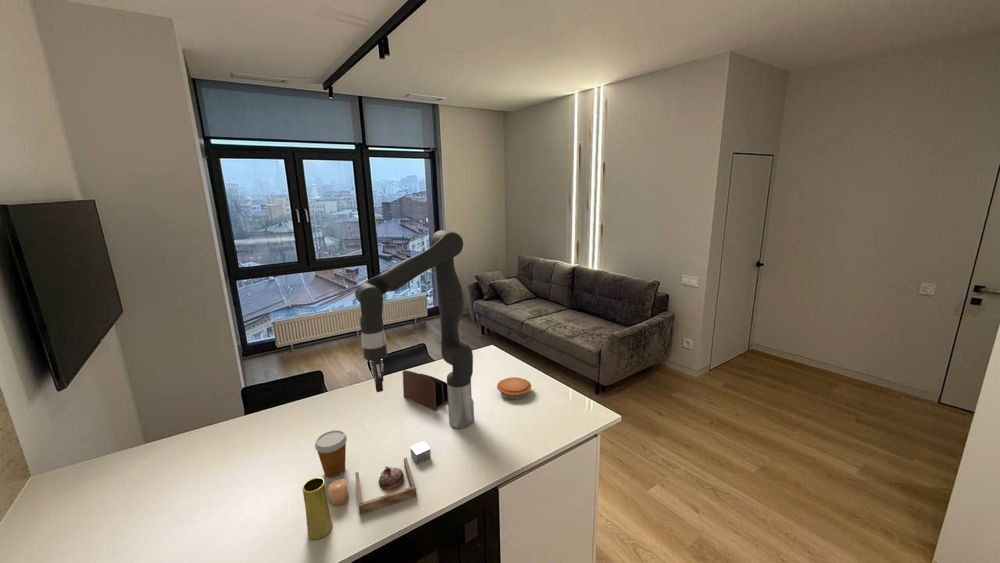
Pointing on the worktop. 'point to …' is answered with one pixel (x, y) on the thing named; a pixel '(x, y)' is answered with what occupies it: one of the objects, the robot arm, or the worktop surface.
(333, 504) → the peach rounded blob
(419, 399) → the letter holder
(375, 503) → the display bay
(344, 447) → the disposable coffee cup
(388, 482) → the pastry
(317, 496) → the vase
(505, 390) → the pie
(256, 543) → the worktop surface
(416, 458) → the gray block
